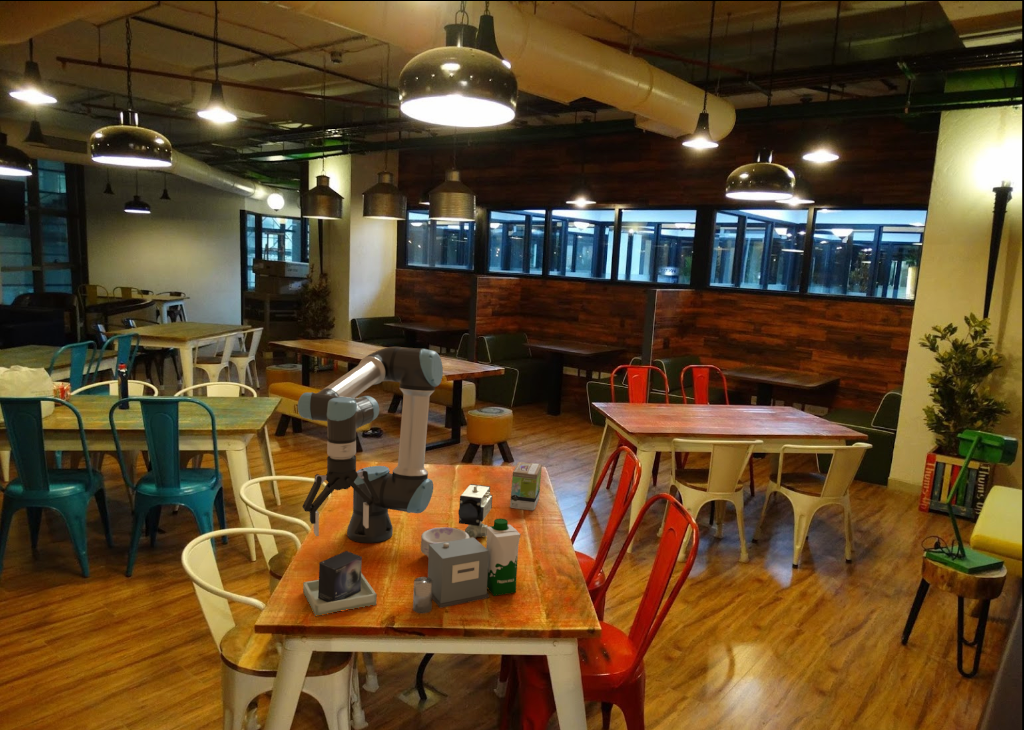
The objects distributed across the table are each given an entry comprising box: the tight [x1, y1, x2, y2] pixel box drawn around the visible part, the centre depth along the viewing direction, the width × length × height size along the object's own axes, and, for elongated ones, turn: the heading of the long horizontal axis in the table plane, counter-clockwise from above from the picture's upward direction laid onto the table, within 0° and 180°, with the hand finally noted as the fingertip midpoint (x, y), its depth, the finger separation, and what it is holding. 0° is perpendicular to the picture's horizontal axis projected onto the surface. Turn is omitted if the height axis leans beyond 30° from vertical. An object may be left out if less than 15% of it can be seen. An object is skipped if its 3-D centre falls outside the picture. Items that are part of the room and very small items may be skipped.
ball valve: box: [457, 483, 493, 539], centre depth 240 cm, size 18×8×18 cm, turn 168°
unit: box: [427, 537, 490, 609], centre depth 198 cm, size 11×15×15 cm
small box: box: [318, 550, 363, 602], centre depth 192 cm, size 11×6×10 cm, turn 148°
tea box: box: [509, 461, 543, 511], centre depth 275 cm, size 15×10×15 cm
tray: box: [302, 572, 378, 617], centre depth 193 cm, size 14×16×3 cm
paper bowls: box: [420, 527, 470, 559], centre depth 222 cm, size 15×15×8 cm
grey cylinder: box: [412, 576, 433, 614], centre depth 190 cm, size 5×5×8 cm
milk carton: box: [485, 518, 521, 597], centre depth 202 cm, size 9×9×20 cm
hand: (341, 530), depth 191 cm, fingers open, 13 cm apart
